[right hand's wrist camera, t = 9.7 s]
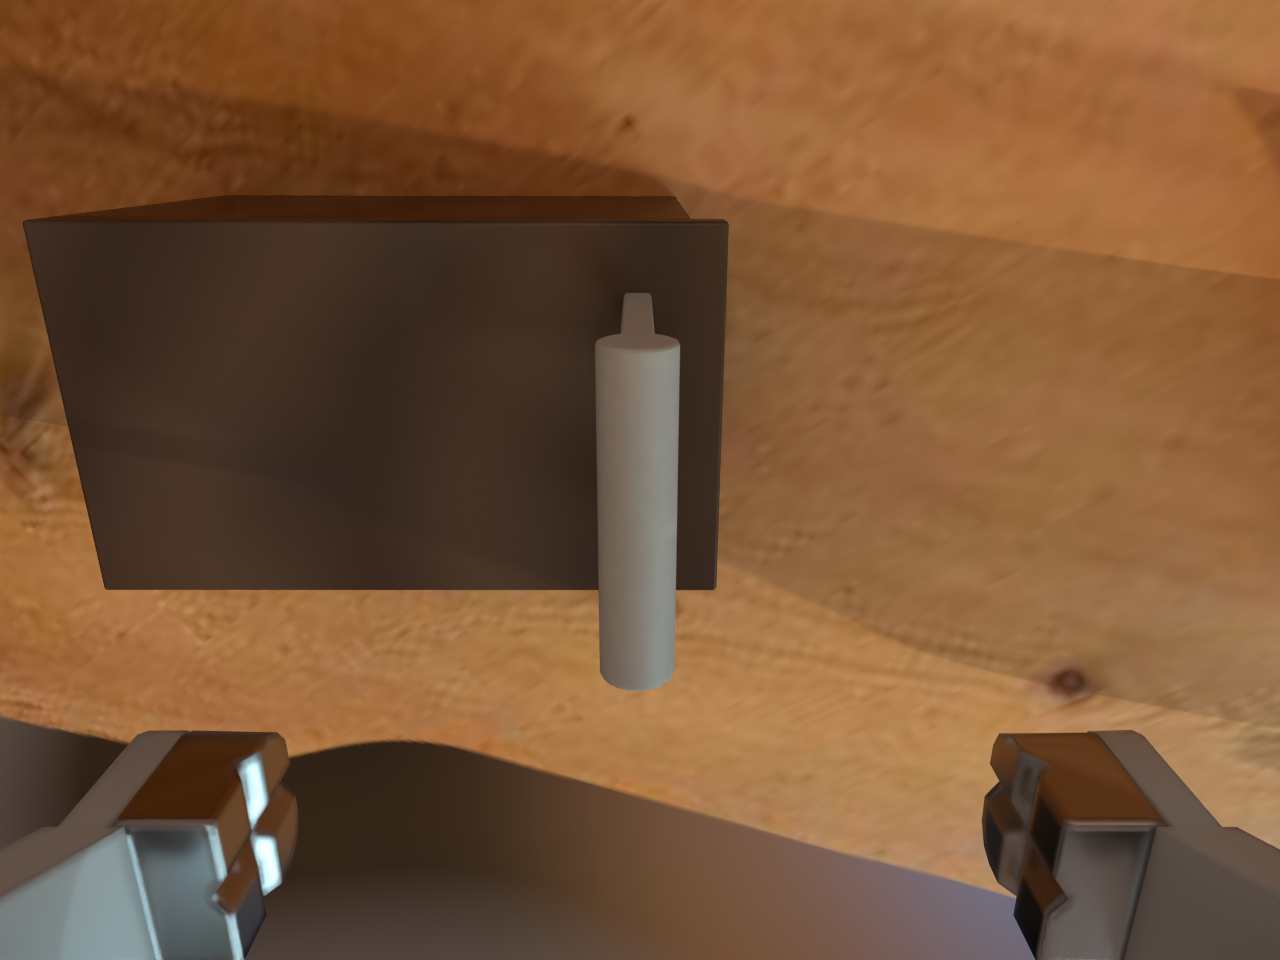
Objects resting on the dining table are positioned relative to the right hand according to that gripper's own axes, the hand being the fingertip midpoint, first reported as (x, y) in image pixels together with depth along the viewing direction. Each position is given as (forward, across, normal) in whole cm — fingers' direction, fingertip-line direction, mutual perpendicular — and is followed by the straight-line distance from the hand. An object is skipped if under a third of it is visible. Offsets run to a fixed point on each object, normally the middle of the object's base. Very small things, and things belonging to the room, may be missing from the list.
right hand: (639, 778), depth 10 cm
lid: (+16, +7, 0) cm, 17 cm away
